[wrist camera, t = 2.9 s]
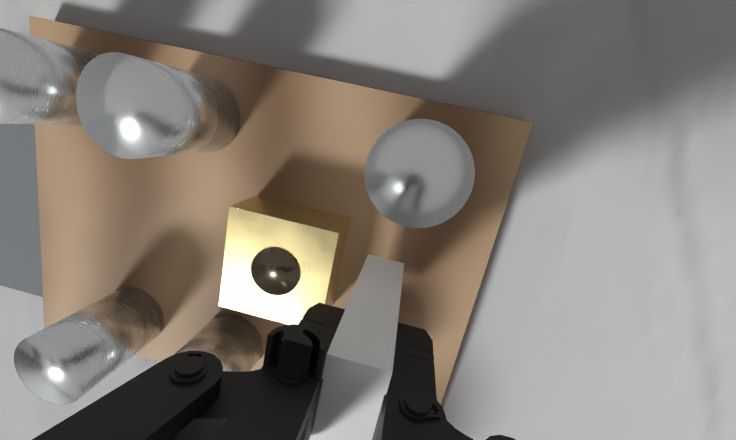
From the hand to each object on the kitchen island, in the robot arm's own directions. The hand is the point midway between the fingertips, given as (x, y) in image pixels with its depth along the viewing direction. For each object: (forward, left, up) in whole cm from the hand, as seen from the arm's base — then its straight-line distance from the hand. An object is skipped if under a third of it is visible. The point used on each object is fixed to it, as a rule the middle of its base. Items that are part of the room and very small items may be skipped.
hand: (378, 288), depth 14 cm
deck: (-7, 0, -3) cm, 7 cm away
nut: (-4, 0, -2) cm, 5 cm away
